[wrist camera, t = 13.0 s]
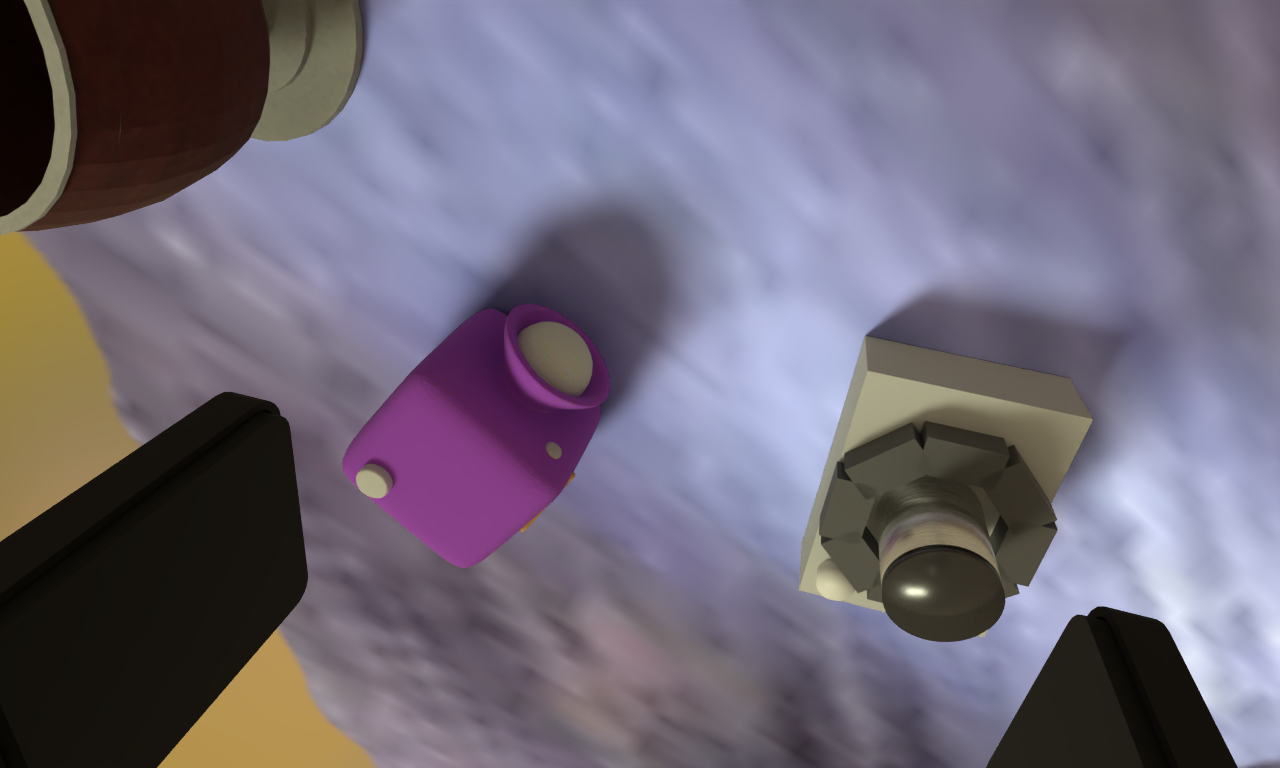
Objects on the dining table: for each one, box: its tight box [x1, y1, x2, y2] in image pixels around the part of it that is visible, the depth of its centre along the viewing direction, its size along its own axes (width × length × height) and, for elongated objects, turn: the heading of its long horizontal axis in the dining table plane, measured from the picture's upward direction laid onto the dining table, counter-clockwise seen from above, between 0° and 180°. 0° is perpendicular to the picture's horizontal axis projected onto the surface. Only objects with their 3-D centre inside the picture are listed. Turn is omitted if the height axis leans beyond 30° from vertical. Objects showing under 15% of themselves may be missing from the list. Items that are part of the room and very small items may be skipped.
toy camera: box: [342, 304, 610, 568], centre depth 40 cm, size 11×14×10 cm
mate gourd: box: [0, 0, 363, 235], centre depth 29 cm, size 16×14×20 cm
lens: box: [876, 475, 1005, 642], centre depth 36 cm, size 5×5×6 cm
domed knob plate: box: [799, 336, 1093, 637], centre depth 39 cm, size 14×10×6 cm
